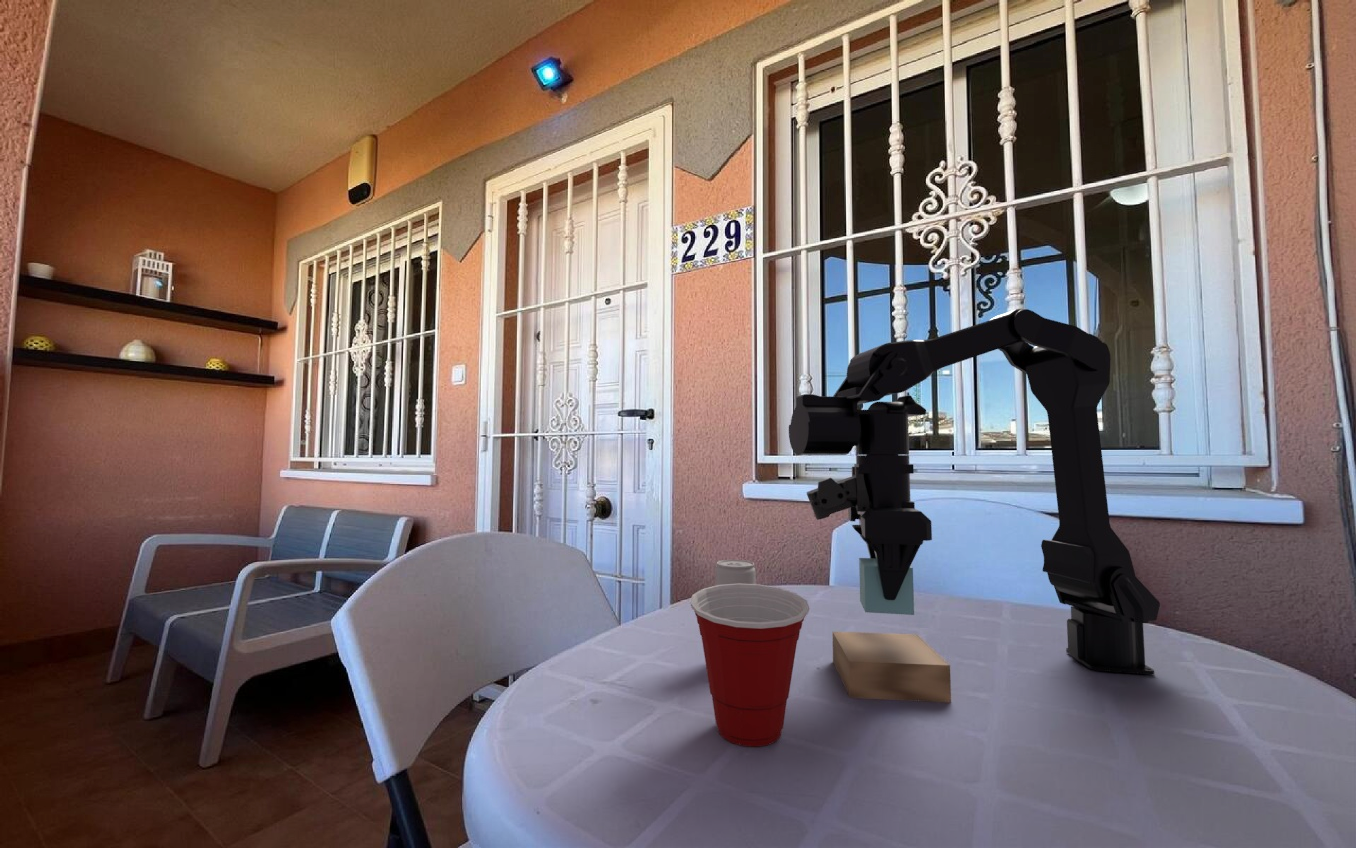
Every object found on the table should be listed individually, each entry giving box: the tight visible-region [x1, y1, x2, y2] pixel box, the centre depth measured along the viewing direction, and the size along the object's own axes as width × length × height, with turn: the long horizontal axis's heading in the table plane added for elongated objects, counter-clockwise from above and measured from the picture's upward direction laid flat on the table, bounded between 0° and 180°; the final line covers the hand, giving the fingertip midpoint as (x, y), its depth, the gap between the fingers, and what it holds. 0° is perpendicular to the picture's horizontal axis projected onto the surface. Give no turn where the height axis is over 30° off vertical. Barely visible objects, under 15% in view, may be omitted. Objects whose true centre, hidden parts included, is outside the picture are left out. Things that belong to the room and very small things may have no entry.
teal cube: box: [858, 557, 915, 616], centre depth 61 cm, size 5×5×5 cm
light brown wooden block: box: [832, 631, 952, 703], centre depth 61 cm, size 10×10×4 cm
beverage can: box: [715, 559, 756, 586], centre depth 66 cm, size 5×5×12 cm
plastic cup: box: [689, 583, 810, 748], centre depth 49 cm, size 11×11×12 cm
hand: (885, 593), depth 61 cm, fingers closed on teal cube, 5 cm apart
